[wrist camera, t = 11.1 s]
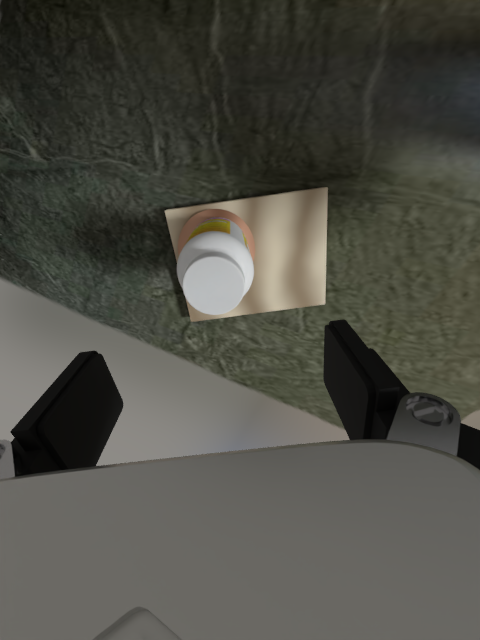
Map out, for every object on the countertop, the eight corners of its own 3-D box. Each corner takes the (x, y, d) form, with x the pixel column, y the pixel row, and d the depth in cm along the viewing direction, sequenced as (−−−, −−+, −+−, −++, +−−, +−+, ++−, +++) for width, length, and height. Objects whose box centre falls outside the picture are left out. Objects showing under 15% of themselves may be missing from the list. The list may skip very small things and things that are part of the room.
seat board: (323, 187, 30) (329, 187, 29) (321, 299, 37) (326, 305, 35) (167, 209, 31) (163, 210, 29) (192, 316, 37) (190, 323, 36)
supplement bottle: (178, 249, 31) (149, 290, 20) (214, 202, 29) (205, 219, 18) (222, 285, 33) (218, 340, 22) (259, 244, 31) (276, 283, 20)
